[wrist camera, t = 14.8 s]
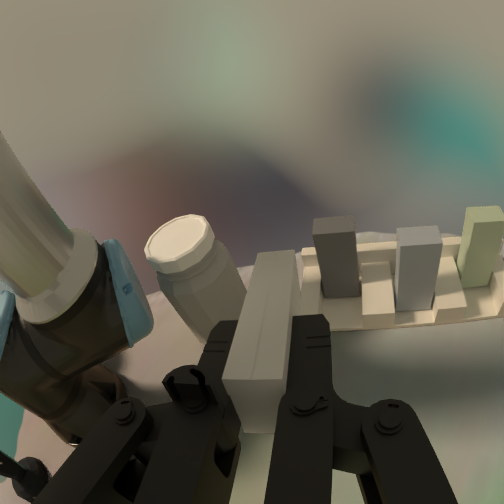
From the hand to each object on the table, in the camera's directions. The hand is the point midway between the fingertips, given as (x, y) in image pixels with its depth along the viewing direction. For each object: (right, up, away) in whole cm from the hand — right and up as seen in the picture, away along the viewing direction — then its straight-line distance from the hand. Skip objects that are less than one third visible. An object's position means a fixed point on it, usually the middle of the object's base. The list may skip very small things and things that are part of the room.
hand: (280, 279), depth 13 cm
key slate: (+21, -6, +26) cm, 33 cm away
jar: (-5, -10, +34) cm, 36 cm away
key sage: (+31, -3, +24) cm, 39 cm away
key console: (+21, -5, +27) cm, 35 cm away
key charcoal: (+12, -4, +31) cm, 34 cm away
